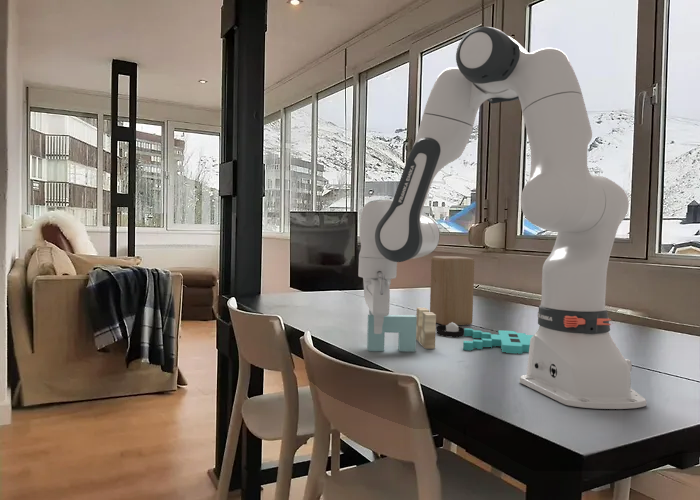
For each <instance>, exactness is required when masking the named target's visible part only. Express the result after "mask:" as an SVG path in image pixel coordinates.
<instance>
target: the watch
mask: <svg viewBox="0 0 700 500" xmlns="http://www.w3.org/2000/svg"><path fill="white" fill-rule="evenodd" d="M464 328H465V327H462V326H460V325H456V324H455V323H453V322H452V323H449V324H448V325H441V324H439V325H436V334H437V335H438V336H441V335H443V336H442V337H446V336H452V337H451V338H461V337H464Z"/></svg>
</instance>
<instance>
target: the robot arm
mask: <svg viewBox="0 0 700 500" xmlns="http://www.w3.org/2000/svg"><path fill="white" fill-rule="evenodd" d="M455 53H456V54H455V62H456V67H455V66H454V67H448V68H445V69H444V70H442V71H441V72H440V73H439V74H438V76H437V78H436V79H435V82H434V84H433V86H432V89H431V90H430V93H429V96H428V98H427V100H426V104H425V107H424V110H423V114H422V117H421V119H420V120H421V121H420V124H419V127H418V131H417V134H416V137H415V141H414V144H413V145H412V149H411V150H410V152H409V155H408V158H407V160H406V163H405V166H404V168H403V171H402V173H401V177H400V179H399V182H398V185H397V188H396V191H395V193H394V196H393V198H381V199H380V198H379V199H374V200H371V201H368V202H367V203H366V204H364V206H363V208H362V211H361V216H360V222H359V223H360V225H359V241H360V249H359V250H360V251H359V254H358V271H357V272H358V274H357V275H358V277H359V278H362V279H363V282H362V283H363V295H364V296H363V297H364V302H365V304H366V306H367V309H368V315H374V333H375V334H381V333H382V326H383V321H384V316H388V315H390V306H391V305H390V298H391V297H390V296H391V295H390V293H391V292H390V291H391V290H390V289H391V288H390V286H391V285H392V282H391V281H392V280H393V279H396V278H397V273H398V272H397V271H398V270H397V269H398V263H402V262H406V261H409V260H413V259H418V258H423V257H427V256H428V255H430V254H432V253H433V252H434V251H436V249H437V247H438V246H439V243H440V237H441V236H440V229H439V227H438V225H437V223H436V222H435V221H434V220H433V219H431V218H430V217H428V216H425V215H422V213H423V209H424V206H425V203H426V200H427V197H428V195H429V192H430V189H431V186H432V183H433V181H434V179H435V177H436V176H437V175H438V173H439V172H440V171H441V170H443V168H444V167H445V166H448V165H449V164H451V163H453V162H454V161H456V160H457V159H459V158H460V157H461V156H462V154H463V153H464V151H465V149H466V147H467V144H468V143H469V140H470V139H471V135H472V131H473V128H474V124H475V121H476V118H477V114H478V111H479V109H480V107H481V105H482V104H483V103H485V101H487V102H489V103H490V104H498V103H504V102H505V103H506V102H514V101H515V102H516V101H519V103H520V107H521V112H522V116H523V121H524V124H525V129H526V130H525V131H526V133H527V139H528V144H529V148H530V149H529V150H530V171H529V172H530V173H529V178H528V180H527V182H526V184H525V185H524V187H523V189H522V192H521V195H520V208H521V211H522V213H523V216H524V217H525V218H526V220H527V221H528V222H529V223H531V224H532V225H534V226H536V227H538V228H540V229H543V230H545V231H548V232H551V233H557V235H556V239H555V242H554V245H553V247H552V250H551V251H550V254H549V255H548V257H547V258H546V259H545V261H544V262H543V264H542V268H541V269H542V271H541V273H542V275H541V299H540V300H541V301H540V305H539V306H538V312H537V324H538V325H539V327H538V329H537V330H536V332H535V334H533V335H534V336H533V337H532V338H531V340H530V347H529V352H528V358H527V368H526V374H523V375H520V376H519V383H520V384H521V385H524V386H525V387H526V386H527V387H528V388H529V389H532V390H534V391H536V392H538V393H540V394H542V395H544V396H546V397H549V398H551V399H553V400H555V401H556V402H559V403H560V404H562V405H566V406H569V407H576V408H584V409H585V408H586V409H596V410H597V409H598V410H599V409H600V410H601V409H602V410H603V409H604V410H606V409H607V410H608V409H609V410H615V409H616V410H623V409H625V410H626V409H637V408H643V407H646V406H647V399H646V398H644V396H642V395H641V394H639V393H638V392H637V391H635V390H634V389H633V388H632V386H631V384H632V381H631V380H632V379H631V375H632V374H631V372H632V369H633V364H632V361H631V360H630V359H629V358H627V359H626V358H625V357H624V356H623V354H622V352H621V351H620V349H619V347H618V346H617V344H616V343H615V341H614V340H613V338H612V336H611V334H610V331H611V327H610V326H611V325H612V323H610V321H612V319H611V318H609V315H608V310H607V309H606V296H607V294H606V292H607V277H608V276H607V273H608V267H609V260H610V256H611V253H612V249H613V245H614V243H615V239H616V235H617V232H618V230H619V227H620V224H621V223H622V222H623V220H625V219H626V216H627V215H628V211H629V207H630V206H629V204H630V203H629V197H628V195H627V193H626V190H624V189H623V187H621V186H620V185H619V184H618V183H616V182H615V181H613V180H612V179H609V178H608V177H606V176H601V175H595V174H591V172H590V171H589V166H588V149H589V148H588V147H589V144H590V143H591V141H592V137H593V129H592V127H591V123H590V120H589V114H588V112H587V108H586V104H585V100H584V96H583V92H582V89H581V86H580V83H579V80H578V77H577V75H576V73H575V70H574V67H573V66H572V64H571V62H570V60H569V58H568V56H567V54H566V53H565V52H563V51H562V50H560V49H558V48H555V47H554V48H553V47H545V48H540V49H537V50H535V51H533V52H532V51H531V52H528V51H527V50H526V49H525V48H524V47H523V46H522V45H521V44H520V43H519V42H518V41H517V40H515V39H514V38H512V37H511V36H509V35H508V34H506V32H504V31H502V30H501V29H498V28H495V27H491V26H478V27H475V28H473V29H471V30H470V31H469V32H467V33H466V34H465V35H463V37H462V39H461V40H460V42H459V43H458V46H457V48H456V52H455Z"/></svg>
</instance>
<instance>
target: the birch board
mask: <svg viewBox="0 0 700 500" xmlns="http://www.w3.org/2000/svg"><path fill="white" fill-rule="evenodd" d="M415 316H416V317H417V323H416V342H418V343H419V344H420V345H421V346H422V347H423V348H424V349H426V350H427V349H432V350H433V349H434V350H435V349H436V334H437V329H436V327H437V325H436V324H437V323H436V315H435V314H434V313H433V312H430V309H428V307H416V315H415Z"/></svg>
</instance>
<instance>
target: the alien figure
mask: <svg viewBox="0 0 700 500" xmlns="http://www.w3.org/2000/svg"><path fill="white" fill-rule="evenodd" d="M463 328H464V335H463V337H467V336H472V340H462V341H463V345H462V351H471V350H473V351H474V349H473V348H477V349H476V350H483V347H491V348H490V349H492V347H496V346H501V347H500V349H502V350H501V353H502V352H506V354H517V353H518V354H520V355H523V353H529V347H530V340H531V338H532V337H533V336H534V335H535V334H526V333H525V332H523V333H522V332H517V331H516V330H502V329H501V330H500V329H499V330H498V331H497V332H498V334H494V333H493V334H492V333H491V332H488V331H487V332H486V331H485V332H484V331H482V330H477V329H476V330H475V329H473V328H471V327H470V328H467V327H463ZM474 338H481V339H474ZM518 354H517V355H518Z"/></svg>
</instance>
